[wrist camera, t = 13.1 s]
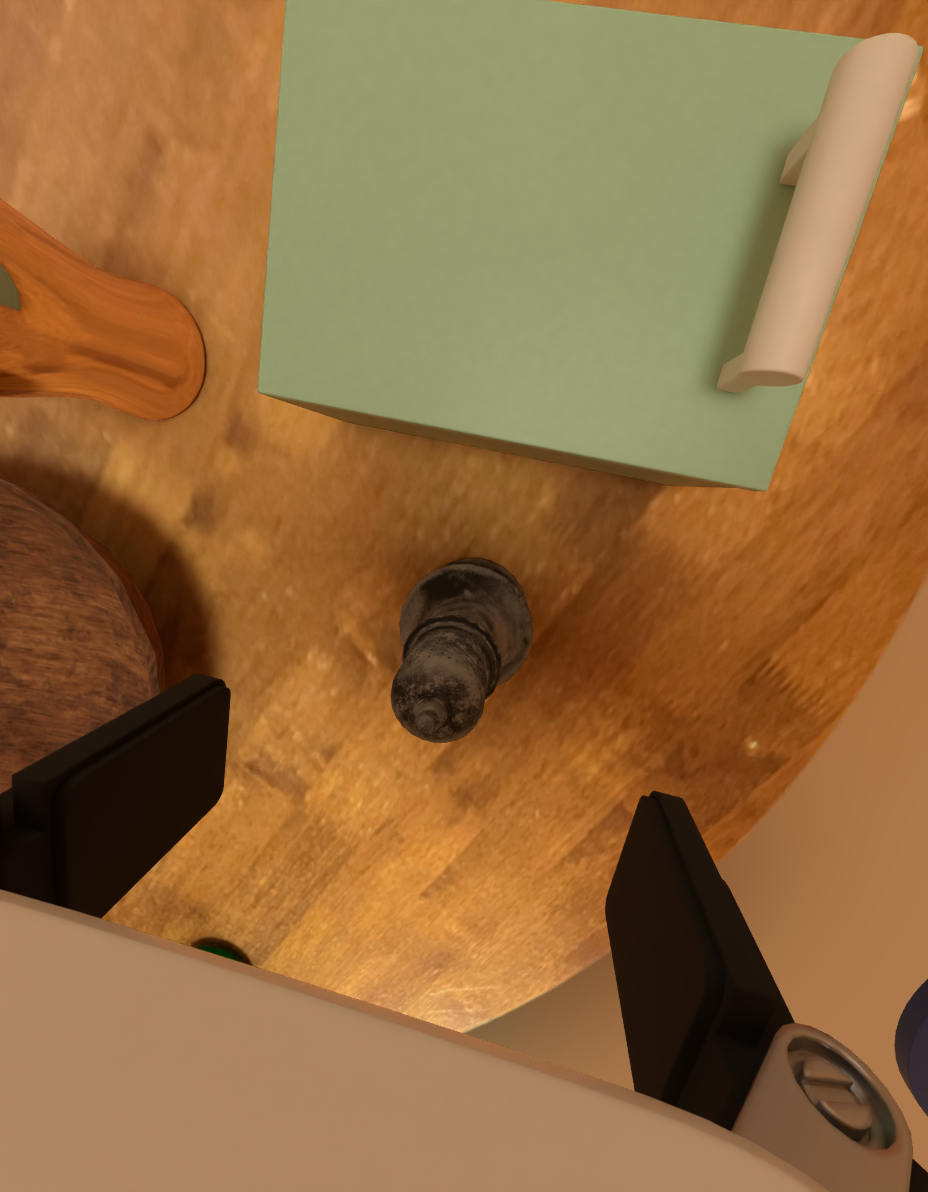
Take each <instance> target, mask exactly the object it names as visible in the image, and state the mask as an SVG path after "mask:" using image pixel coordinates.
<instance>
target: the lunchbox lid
mask: <svg viewBox="0 0 928 1192" xmlns="http://www.w3.org/2000/svg"><path fill="white" fill-rule="evenodd" d="M923 49H924V47H923V46H918V44H917V42H916V41H915V40H914V39H913V38H912V37H910V36H908V35H905V34H901V33H888V34H882V35H878V36H875V37H872V38H869V39H861V38H852V37H844V36H836V35H828V34H820V33H811V32H803V31H795V30H787V29H778V28H770V27H762V26H754V25H746V24H737V23H729V22H721V21H713V20H704V19H696V18H688V17H680V16H672V15H663V14H655V13H647V12H639V11H630V10H622V9H614V8H606V7H598V6H589V5H581V4H573V3H565V2H556V1H548V0H286V5H285V19H284V33H283V47H282V61H281V74H280V88H279V102H278V116H277V130H276V143H275V157H274V171H273V185H272V199H271V212H270V226H269V240H268V254H267V268H266V281H265V295H264V309H263V323H262V337H261V351H260V364H259V378H258V392H259V393H260V394H263V395H266V396H269V397H274V398H279V399H284V400H289V401H294V402H299V403H305V404H310V405H315V406H320V407H325V408H330V409H335V410H340V411H346V412H351V413H356V414H361V415H366V416H371V417H376V418H381V419H387V420H392V421H397V422H402V423H407V424H412V425H417V426H422V427H428V428H433V429H438V430H443V431H448V432H453V433H458V434H463V435H469V436H474V437H479V438H484V439H489V440H494V441H499V442H504V443H510V444H515V445H520V446H525V447H530V448H535V449H540V450H545V451H551V452H556V453H561V454H566V455H571V456H576V457H581V458H586V459H592V460H597V461H602V462H607V463H612V464H617V465H622V466H627V467H633V468H638V469H643V470H648V471H653V472H658V473H663V474H668V475H674V476H679V477H684V478H689V479H694V480H699V481H704V482H710V483H715V484H720V485H725V486H730V487H735V488H740V489H745V490H751V491H763V492H764V491H767V489H768V486H769V484H770V481H771V478H772V475H773V472H774V470H775V467H776V464H777V461H778V458H779V455H780V453H781V450H782V447H783V444H784V441H785V439H786V436H787V433H788V430H789V427H790V424H791V422H792V419H793V416H794V413H795V410H796V408H797V405H798V402H799V399H800V396H801V393H802V391H803V388H804V385H805V382H806V379H807V377H808V374H809V371H810V368H811V365H812V362H813V360H814V357H815V354H816V351H817V348H818V346H819V343H820V340H821V337H822V334H823V331H824V329H825V326H826V323H827V320H828V317H829V314H830V312H831V309H832V306H833V303H834V300H835V298H836V295H837V292H838V289H839V286H840V283H841V281H842V278H843V275H844V272H845V269H846V267H847V264H848V261H849V258H850V255H851V252H852V250H853V247H854V244H855V241H856V238H857V236H858V233H859V230H860V227H861V224H862V221H863V219H864V216H865V213H866V210H867V207H868V205H869V202H870V199H871V196H872V193H873V190H874V188H875V185H876V182H877V179H878V176H879V174H880V171H881V168H882V165H883V162H884V159H885V157H886V154H887V151H888V148H889V145H890V143H891V140H892V137H893V134H894V131H895V128H896V126H897V123H898V120H899V117H900V114H901V112H902V109H903V106H904V103H905V100H906V97H907V95H908V92H909V89H910V86H911V83H912V80H913V78H914V75H915V72H916V69H917V66H918V64H919V61H920V58H921V55H922V52H923Z"/></svg>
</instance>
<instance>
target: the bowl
mask: <svg viewBox="0 0 928 1192" xmlns="http://www.w3.org/2000/svg"><path fill="white" fill-rule="evenodd" d="M164 691H166V681H165V667H164V652H163V648H162V644H161V641H160V638H159V634H158V631H157V628H156V624H155V621H154V618H153V614H152V611H151V608H150V607H149V605H148V603H147V602H146V600H145V598H144V597H143V595H142V593H141V592H140V590H139V588H138V587H137V585H136V583H135V582H134V580H133V579H132V577H131V575H130V574H129V573H128V572H127V571H126V569H125V568H124V567H123V566H122V565H121V564H120V563H119V561H118V560H117V559H116V558H115V557H114V556H113V555H112V553H111V552H110V551H109V550H108V549H106V548H105V547H104V546H102V545H101V544H100V543H99V542H97V541H96V540H95V539H93V538H92V537H91V536H89V535H88V534H87V533H85V532H84V531H83V530H82V529H80V528H79V527H78V526H76V525H75V524H74V523H72V522H71V521H70V520H68V519H67V518H66V517H65V516H63V515H62V514H61V513H59V512H58V511H57V510H55V509H54V508H53V507H52V506H50V505H49V504H48V503H46V502H45V501H44V500H42V499H41V498H40V497H38V496H37V495H36V494H35V493H33V492H32V491H31V490H29V489H26V488H23V487H21V486H18V485H15V484H13V483H10V482H7V481H5V480H2V479H0V794H1V793H2V792H4V791H6V790H7V789H9V788H11V787H12V777H11V775H13V774H15V773H16V772H18V771H20V770H22V769H24V768H25V767H27V766H29V765H31V764H33V763H35V762H36V761H38V760H40V759H42V758H44V757H45V756H47V755H49V754H51V753H53V752H55V751H56V750H58V749H60V748H62V747H64V746H65V745H67V744H69V743H71V742H73V741H75V740H76V739H78V738H80V737H82V736H84V735H85V734H87V733H89V732H91V731H93V730H95V729H96V728H98V727H100V726H102V725H104V724H105V723H107V722H109V721H111V720H113V719H115V718H116V717H118V716H120V715H122V714H124V713H126V712H127V711H129V710H131V709H133V708H135V707H136V706H138V705H140V704H142V703H144V702H146V701H147V700H149V699H151V698H153V697H155V696H156V695H158V694H160V693H162V692H164Z"/></svg>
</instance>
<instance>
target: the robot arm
mask: <svg viewBox="0 0 928 1192" xmlns="http://www.w3.org/2000/svg"><path fill="white" fill-rule="evenodd" d="M230 697H231V693H230V689H229V688H227V687H226V685H225V682H224V681H223V680H222V679H218V678H214V677H210V676H206V675H202V674H195V675H193V676H191V677H189V678H187V679H186V680H184V681H182V682H180V683H178V684H176V685H175V686H173V687H171V688H169V689H167V690H166V691H164V692H162V693H160V694H158V695H156V696H155V697H153V698H151V699H149V700H147V701H146V702H144V703H142V704H140V705H138V706H136V707H135V708H133V709H131V710H129V711H127V712H126V713H124V714H122V715H120V716H118V717H116V718H115V719H113V720H111V721H109V722H107V723H105V724H104V725H102V726H100V727H98V728H96V729H95V730H93V731H91V732H89V733H87V734H85V735H84V736H82V737H80V738H78V739H76V740H75V741H73V742H71V743H69V744H67V745H65V746H64V747H62V748H60V749H58V750H56V751H55V752H53V753H51V754H49V755H47V756H45V757H44V758H42V759H40V760H38V761H36V762H35V763H33V764H31V765H29V766H27V767H25V768H24V769H22V770H20V771H18V772H16V773H15V774H13V775H11V777H12V787H11V788H9V789H7V790H6V791H4V792H2V793H1V794H0V1192H928V1173H927V1172H926V1171H925V1170H924V1169H923V1168H922V1167H921V1166H920V1165H919V1164H918V1163H917V1162H916V1161H915V1160H914V1159H913V1158H912V1157H913V1147H912V1139H911V1132H910V1130H909V1128H908V1125H907V1123H906V1120H905V1118H904V1116H903V1113H902V1111H901V1109H900V1108H899V1107H898V1105H897V1103H896V1102H895V1100H894V1099H893V1097H892V1096H891V1094H890V1093H889V1091H888V1089H887V1088H886V1087H885V1086H884V1084H883V1083H882V1082H881V1081H880V1080H879V1079H878V1077H877V1076H876V1075H875V1074H874V1073H873V1072H872V1070H871V1069H870V1068H869V1067H868V1066H867V1065H866V1064H865V1063H864V1062H862V1061H861V1060H860V1059H859V1058H858V1057H857V1056H856V1055H855V1054H854V1053H853V1052H852V1051H851V1050H849V1049H848V1048H846V1047H845V1046H843V1044H841V1043H840V1042H838V1041H837V1040H835V1039H834V1038H833V1037H831V1036H829V1035H828V1034H826V1033H824V1032H822V1031H820V1030H817V1029H815V1028H813V1027H811V1026H807V1025H802V1024H798V1023H795V1022H794V1020H793V1018H792V1016H791V1014H790V1012H789V1010H788V1008H787V1006H786V1004H785V1001H784V999H783V997H782V995H781V993H780V991H779V989H778V987H777V985H776V983H775V981H774V979H773V977H772V975H771V973H770V971H769V969H768V967H767V965H766V962H765V960H764V958H763V956H762V955H761V952H760V950H759V948H758V946H757V944H756V942H755V940H754V938H753V936H752V934H751V932H750V930H749V928H748V926H747V924H746V922H745V919H744V917H743V915H742V913H741V911H740V909H739V907H738V905H737V903H736V901H735V899H734V897H733V895H732V893H731V891H730V889H729V887H728V885H727V884H726V882H725V881H724V880H722V878H721V876H720V874H719V872H718V870H717V868H716V866H715V864H714V862H713V860H712V857H711V855H710V853H709V851H708V849H707V847H706V845H705V843H704V841H703V839H702V837H701V835H700V832H699V830H698V828H697V826H696V824H695V822H694V820H693V818H692V816H691V814H690V812H689V810H688V807H687V805H686V803H685V801H684V800H683V799H682V798H680V797H676V796H672V795H669V794H665V793H661V792H657V791H653V792H651V794H650V795H649V797H648V796H644V795H643V796H642V797H641V798H640V800H639V802H638V805H637V808H636V811H635V814H634V817H633V820H632V823H631V826H630V829H629V832H628V835H627V838H626V841H625V844H624V847H623V850H622V853H621V856H620V859H619V862H618V865H617V868H616V871H615V874H614V876H613V879H612V882H611V885H610V888H609V891H608V894H607V898H606V906H605V914H606V921H607V927H608V933H609V939H610V945H611V951H612V957H613V963H614V969H615V975H616V981H617V987H618V993H619V999H620V1005H621V1011H622V1017H623V1023H624V1029H625V1035H626V1041H627V1047H628V1053H629V1059H630V1065H631V1071H632V1077H633V1083H634V1089H635V1091H632V1090H629V1089H627V1088H624V1087H621V1086H618V1085H615V1084H612V1083H609V1082H606V1081H603V1080H601V1079H598V1078H595V1077H592V1076H589V1075H586V1074H583V1073H580V1072H577V1071H575V1070H571V1069H569V1068H566V1067H563V1066H560V1065H557V1064H554V1063H552V1062H549V1061H546V1060H543V1059H540V1058H537V1057H534V1056H530V1055H527V1054H524V1053H521V1052H518V1051H515V1050H512V1049H509V1048H505V1047H503V1046H500V1045H497V1044H494V1043H490V1042H487V1041H484V1040H481V1039H478V1038H475V1037H472V1036H469V1035H466V1034H463V1033H460V1032H457V1031H454V1030H450V1029H447V1028H444V1027H441V1026H438V1025H435V1024H432V1023H429V1022H426V1021H423V1020H420V1019H417V1018H414V1017H411V1016H407V1015H404V1014H401V1013H398V1012H395V1011H392V1010H389V1009H386V1008H383V1007H380V1006H376V1005H373V1004H370V1003H367V1002H364V1001H361V1000H358V999H354V998H351V997H348V996H345V995H342V994H339V993H336V992H333V991H329V990H326V989H323V988H320V987H317V986H314V985H311V984H307V983H304V982H301V981H298V980H295V979H292V978H289V977H285V976H282V975H279V974H276V973H273V972H270V971H266V970H263V969H260V968H257V967H254V966H251V965H248V964H244V963H241V962H238V961H235V960H232V959H229V958H225V957H222V956H219V955H216V954H213V953H210V952H206V951H203V950H200V949H197V948H193V947H190V946H187V945H184V944H181V943H177V942H174V941H171V940H168V939H164V938H161V937H158V936H155V935H152V934H148V933H145V932H142V931H139V930H135V929H132V928H129V927H126V926H123V925H119V924H116V923H113V922H110V921H106V920H103V919H101V918H102V917H103V916H104V915H105V914H106V913H107V912H108V911H109V910H110V909H111V908H112V907H113V906H114V905H115V904H116V903H117V902H118V901H119V900H120V899H121V898H122V897H123V896H124V895H125V894H126V893H127V892H128V891H129V890H130V889H131V888H132V887H133V886H134V885H135V884H136V883H137V882H138V881H139V880H140V879H141V878H142V877H143V876H144V875H145V874H146V873H147V872H148V871H149V870H150V869H151V868H152V867H153V866H154V865H155V864H156V863H157V862H158V861H159V860H160V859H161V858H162V857H163V856H164V855H165V854H166V853H167V852H168V851H169V850H170V849H171V848H172V847H173V846H174V845H175V844H176V843H178V842H179V841H180V840H181V839H182V838H183V837H184V836H185V835H186V834H187V833H188V832H189V831H190V830H191V829H192V828H193V827H194V826H195V825H196V824H197V823H198V822H199V821H200V820H201V819H202V818H203V817H204V816H205V815H206V814H207V813H208V812H209V811H210V810H211V809H212V808H213V807H214V806H215V805H216V803H217V802H218V800H219V799H220V797H221V795H222V792H223V788H224V776H225V763H226V749H227V736H228V723H229V710H230Z"/></svg>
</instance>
